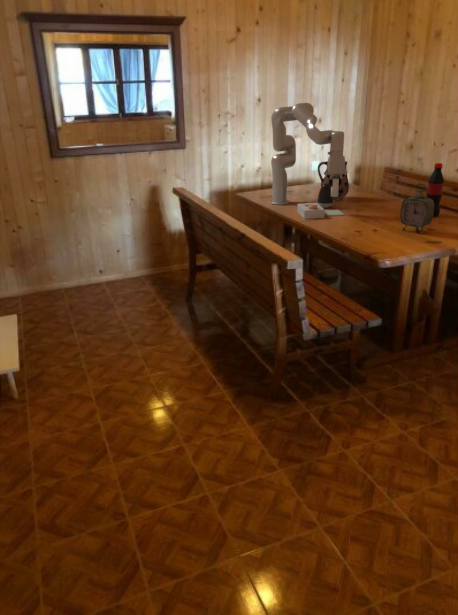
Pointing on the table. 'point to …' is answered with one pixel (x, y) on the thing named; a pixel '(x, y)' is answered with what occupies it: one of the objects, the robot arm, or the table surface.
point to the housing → (310, 211)
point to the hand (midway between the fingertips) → (334, 185)
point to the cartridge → (335, 186)
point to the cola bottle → (436, 187)
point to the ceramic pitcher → (343, 186)
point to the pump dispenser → (325, 196)
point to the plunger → (312, 206)
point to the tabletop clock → (417, 210)
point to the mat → (333, 213)
